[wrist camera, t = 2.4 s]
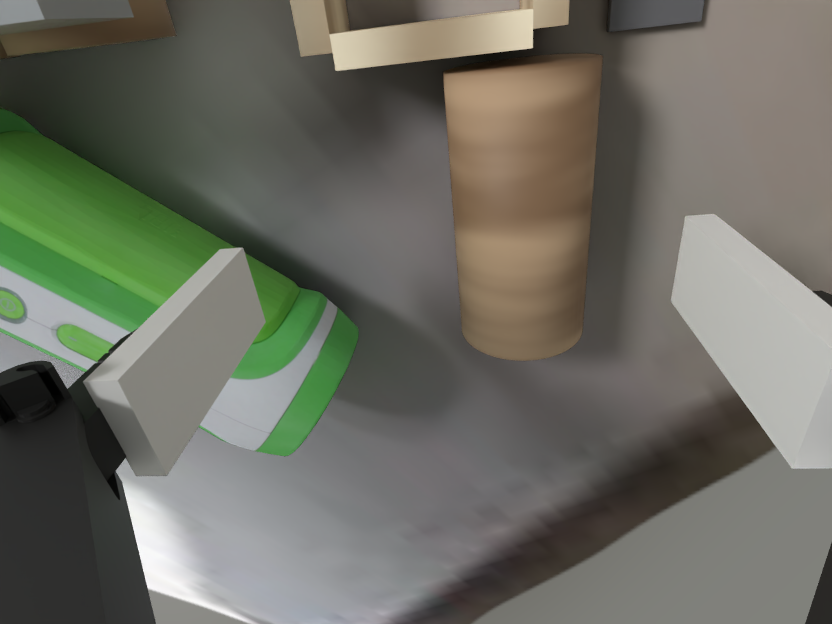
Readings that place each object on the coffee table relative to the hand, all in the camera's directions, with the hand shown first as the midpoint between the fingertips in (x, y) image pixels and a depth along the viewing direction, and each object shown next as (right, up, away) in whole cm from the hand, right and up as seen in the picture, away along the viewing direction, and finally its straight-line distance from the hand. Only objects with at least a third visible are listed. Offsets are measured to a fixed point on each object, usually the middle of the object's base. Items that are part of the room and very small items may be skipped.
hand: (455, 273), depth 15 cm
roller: (+1, +3, +4) cm, 5 cm away
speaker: (-12, +2, +8) cm, 15 cm away
